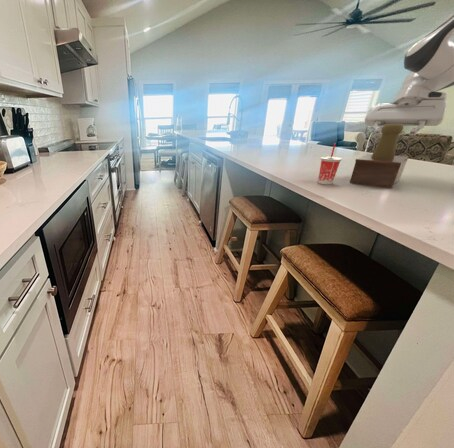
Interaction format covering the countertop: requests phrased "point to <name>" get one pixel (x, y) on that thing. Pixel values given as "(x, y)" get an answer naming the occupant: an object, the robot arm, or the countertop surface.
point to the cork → (387, 142)
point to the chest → (377, 174)
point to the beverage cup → (328, 168)
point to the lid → (382, 160)
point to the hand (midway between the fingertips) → (394, 133)
